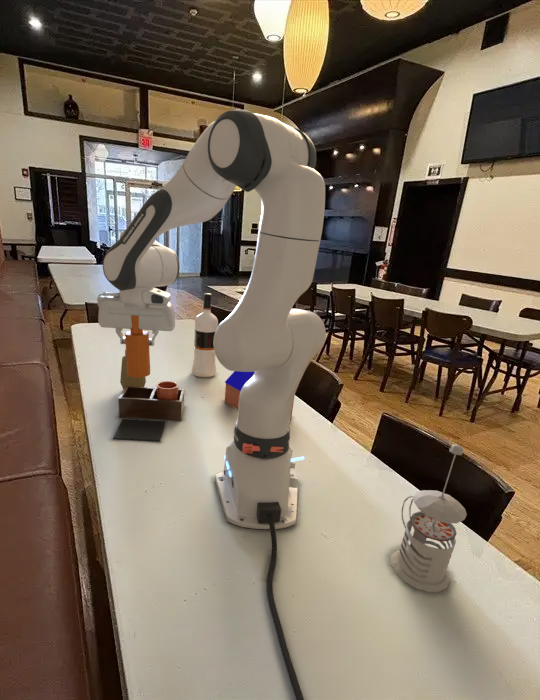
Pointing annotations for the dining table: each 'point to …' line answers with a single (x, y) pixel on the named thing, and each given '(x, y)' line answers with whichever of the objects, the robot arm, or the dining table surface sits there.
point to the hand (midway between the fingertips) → (137, 344)
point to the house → (237, 387)
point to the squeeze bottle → (128, 380)
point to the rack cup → (167, 390)
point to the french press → (435, 523)
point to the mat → (139, 430)
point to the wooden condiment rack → (149, 404)
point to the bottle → (137, 350)
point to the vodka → (205, 341)
